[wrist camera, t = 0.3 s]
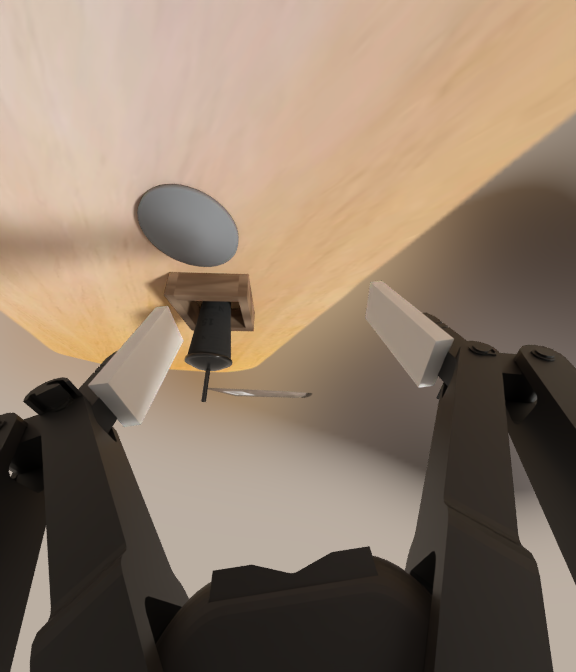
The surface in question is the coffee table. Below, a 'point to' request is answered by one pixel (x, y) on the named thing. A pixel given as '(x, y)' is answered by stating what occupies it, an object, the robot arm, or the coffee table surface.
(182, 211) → the coaster
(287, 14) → the coffee table surface
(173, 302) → the wooden square tray
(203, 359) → the drinking cup
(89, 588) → the robot arm
